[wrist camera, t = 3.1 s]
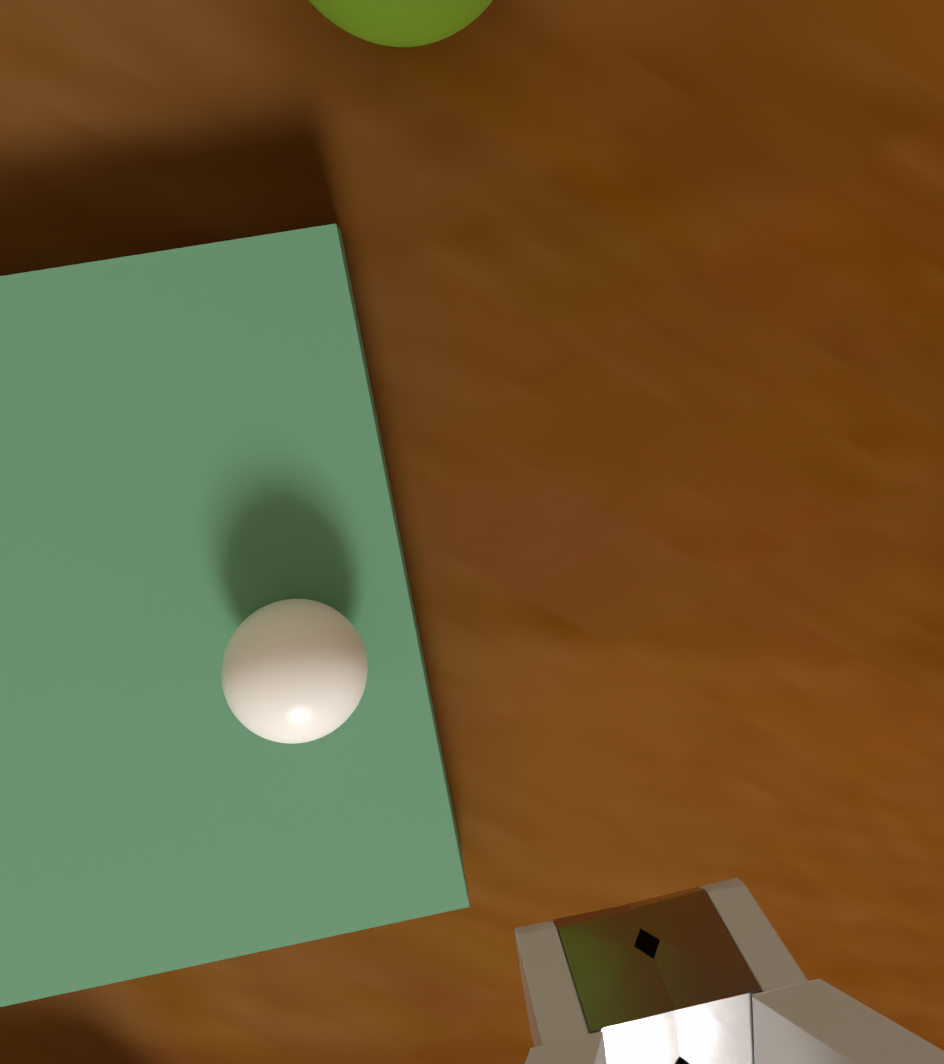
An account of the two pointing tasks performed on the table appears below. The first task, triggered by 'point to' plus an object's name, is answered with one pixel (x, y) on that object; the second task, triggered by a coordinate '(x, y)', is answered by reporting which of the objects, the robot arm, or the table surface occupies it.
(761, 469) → the table surface
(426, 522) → the table surface
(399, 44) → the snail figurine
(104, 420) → the green box with hole
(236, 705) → the ball
